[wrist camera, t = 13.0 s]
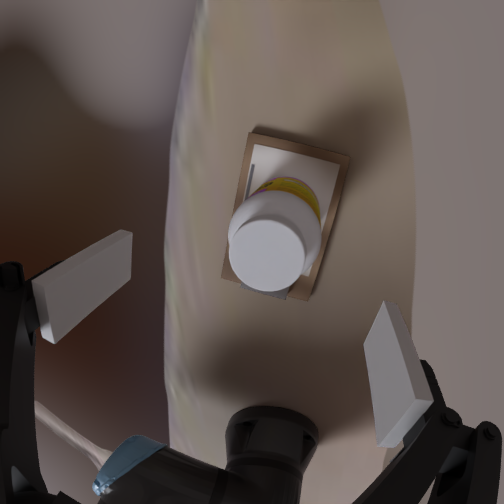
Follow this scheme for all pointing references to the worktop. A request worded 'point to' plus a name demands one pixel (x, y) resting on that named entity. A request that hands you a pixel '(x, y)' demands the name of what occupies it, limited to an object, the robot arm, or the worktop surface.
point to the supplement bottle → (275, 234)
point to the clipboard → (301, 167)
